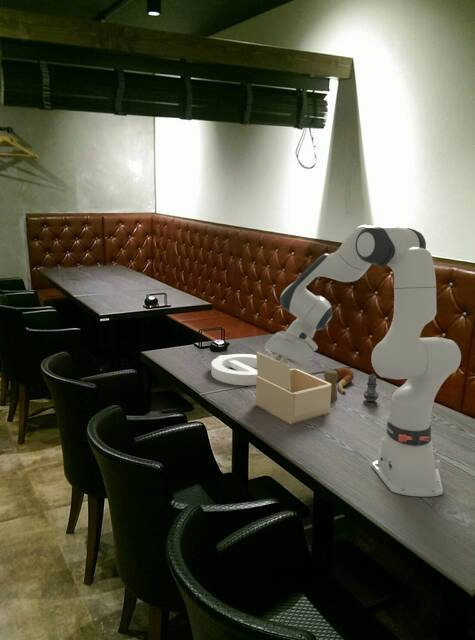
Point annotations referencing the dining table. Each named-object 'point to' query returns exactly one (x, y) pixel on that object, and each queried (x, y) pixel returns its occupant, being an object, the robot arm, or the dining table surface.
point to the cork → (332, 382)
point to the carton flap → (273, 371)
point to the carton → (295, 397)
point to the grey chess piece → (371, 391)
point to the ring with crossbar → (238, 362)
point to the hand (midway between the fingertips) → (274, 367)
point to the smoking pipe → (344, 378)
